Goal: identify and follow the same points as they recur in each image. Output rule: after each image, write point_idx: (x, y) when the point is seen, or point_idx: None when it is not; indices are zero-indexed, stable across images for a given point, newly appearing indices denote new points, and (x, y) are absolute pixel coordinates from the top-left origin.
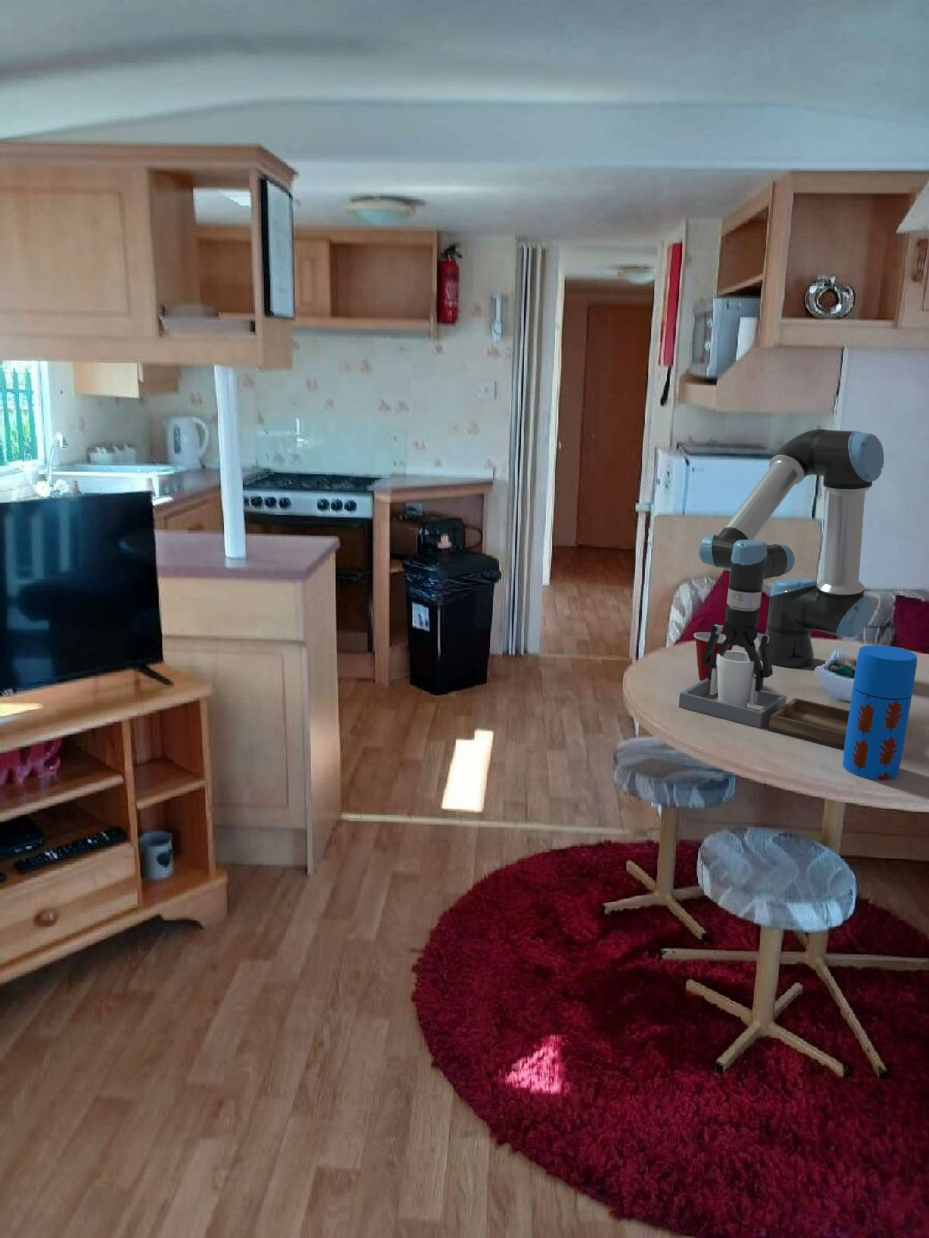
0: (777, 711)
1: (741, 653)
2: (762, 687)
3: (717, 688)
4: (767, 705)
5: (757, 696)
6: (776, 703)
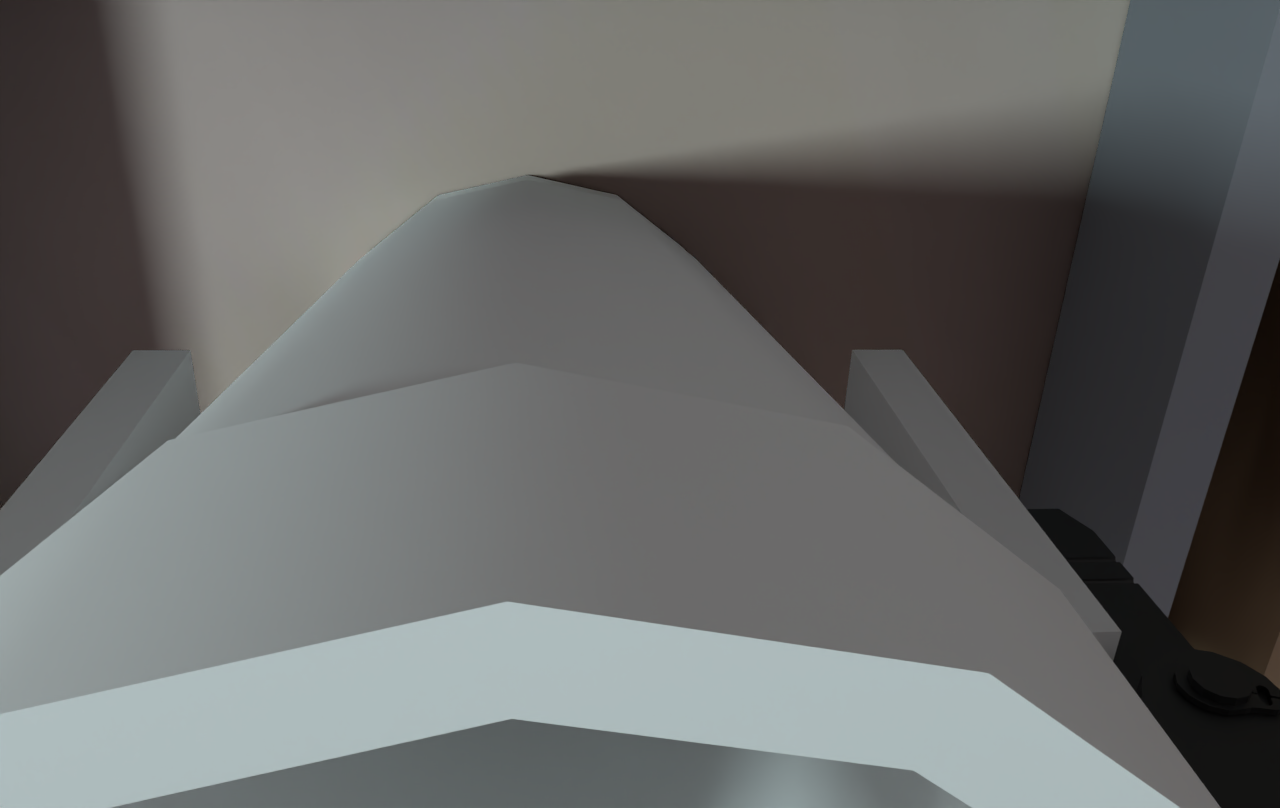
0: (1276, 677)
1: (384, 715)
2: (1102, 550)
3: (168, 383)
4: (1124, 562)
5: (935, 395)
6: (1237, 377)
